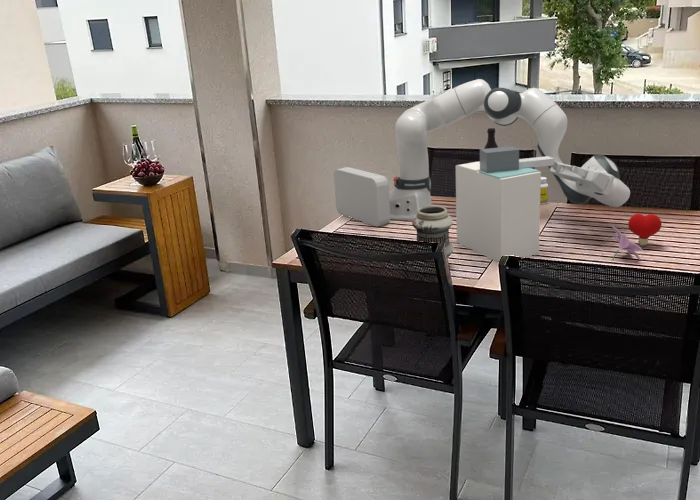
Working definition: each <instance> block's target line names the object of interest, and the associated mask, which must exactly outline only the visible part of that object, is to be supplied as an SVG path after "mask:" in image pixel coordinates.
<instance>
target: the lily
mask: <svg viewBox="0 0 700 500" xmlns="http://www.w3.org/2000/svg"><path fill="white" fill-rule="evenodd" d="M610 226H611V227H612V229H613V231H615V234H616V236H612V239H613V240H614V241H616V242H617V243H618V249H617V251H616V252H615V254H614V256H613V258H612V259H611V261H612V260H613V261H614V259H615V257H616V255H617V254H618V253H619V251H621V250H622V251H626V252H627V253H628V254H629V255H630V254H632V255H634V256H635V258H637V259H638V260H639V261H640V260H641V257H640V256H639V255H638V253H637V252H644V250H643V249H642V247H640V246H639V245H638V244H636V243H635V242H633V241H632V240H630V239H629V237H627V235H626V234H625V233H622V232H621V231H620V230H619V229H618V228H617V227H615V226H614V225H612V224H610Z"/></svg>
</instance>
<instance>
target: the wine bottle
mask: <svg viewBox="0 0 700 500" xmlns="http://www.w3.org/2000/svg"><path fill="white" fill-rule="evenodd" d="M486 132H487V140H486V141H487V142H486V144H485V145H484V147H483V149H489V148H499V146H498V144H497V142H496V136H495V135H496V128H495V127H489V128H487V130H486Z"/></svg>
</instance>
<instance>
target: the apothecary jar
mask: <svg viewBox="0 0 700 500" xmlns="http://www.w3.org/2000/svg"><path fill="white" fill-rule="evenodd" d="M453 222H454V220H453V218H452V216H450V214H448V210H447V208H446V207H445V206H442V205H433V204H432V206H424V207H421V208H419V209H418V212H417V216H415V217H414V219H413V220H412V223H411V224H412V227H413V228H414V229H415V231H416V242H417V241H423V242H439V243H444V244H445V247H446V254H447V258H449V257H450V256H451V255H452V254H453V253H454V251H455V250H454V244H453V243H452V242H451V241H450V234H449V229H450V228H451V227H452V225H453ZM449 267H450V268H451V264H450V263H449Z"/></svg>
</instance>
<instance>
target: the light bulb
mask: <svg viewBox="0 0 700 500" xmlns="http://www.w3.org/2000/svg"><path fill="white" fill-rule="evenodd" d="M627 226H628V229H629V230H630V231H631V233H632V234H634V235H636V236H637V237H638V244H639V245H640V246H641V247H645V246H647V245H648V244H649V238H651V236H654V235H655V234H657V233H658V232H659V231H660V230H661V228H662V220H661V219H660V217H659V216H658V215H657V214H654V213H650V214H646V215H644V214H641V213H635V214H633V215H632V216H631V217H630V218H629V220H628V222H627Z"/></svg>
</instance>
